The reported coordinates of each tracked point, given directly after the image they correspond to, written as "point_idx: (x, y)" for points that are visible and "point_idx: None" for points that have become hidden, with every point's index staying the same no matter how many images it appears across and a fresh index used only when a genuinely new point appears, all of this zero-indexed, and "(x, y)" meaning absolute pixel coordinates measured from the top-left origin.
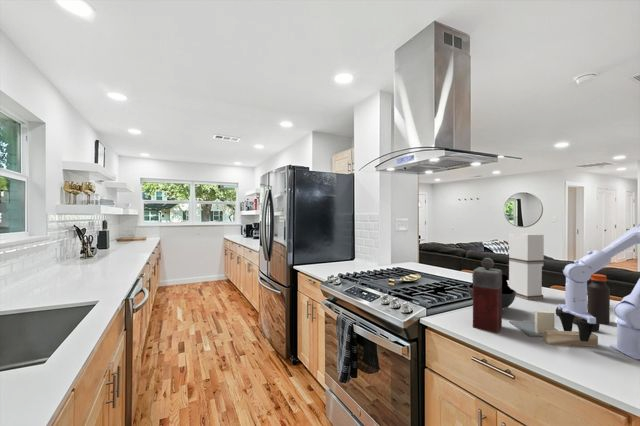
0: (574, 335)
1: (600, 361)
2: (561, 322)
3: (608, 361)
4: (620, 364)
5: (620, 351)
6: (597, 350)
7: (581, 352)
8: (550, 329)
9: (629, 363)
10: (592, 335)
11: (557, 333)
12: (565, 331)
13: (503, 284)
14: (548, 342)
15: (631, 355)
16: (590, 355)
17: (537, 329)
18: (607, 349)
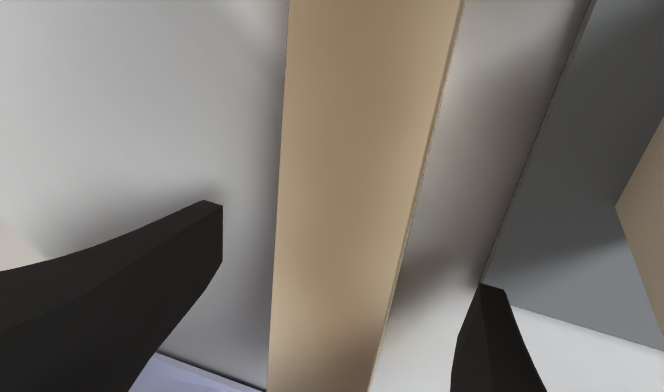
0: (278, 229)
1: (25, 81)
2: (539, 381)
3: (47, 147)
4: (26, 185)
5: (215, 374)
6: (230, 261)
7: (166, 79)
8: (660, 193)
9: None
10: (268, 387)
11: (311, 15)
12: (390, 229)
13: None
14: None
15: (149, 364)
16: (120, 106)
17: None
18: (256, 344)
